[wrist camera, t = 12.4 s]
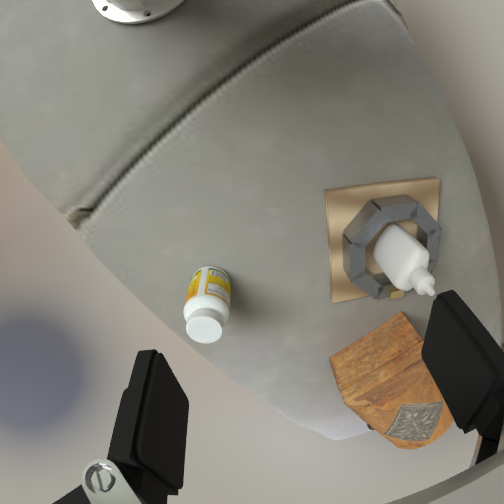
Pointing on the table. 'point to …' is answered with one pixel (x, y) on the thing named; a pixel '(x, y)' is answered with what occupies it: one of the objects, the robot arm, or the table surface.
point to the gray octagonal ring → (366, 229)
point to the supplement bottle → (207, 304)
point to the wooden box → (392, 385)
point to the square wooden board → (346, 208)
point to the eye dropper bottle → (404, 260)
